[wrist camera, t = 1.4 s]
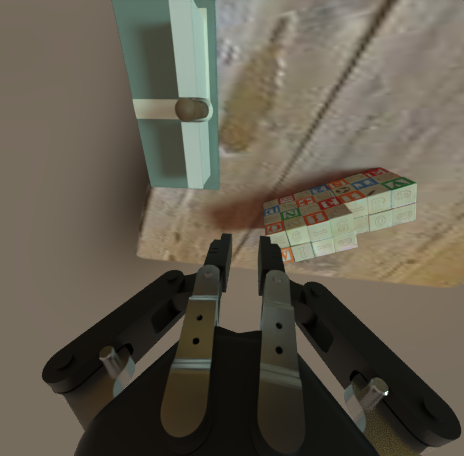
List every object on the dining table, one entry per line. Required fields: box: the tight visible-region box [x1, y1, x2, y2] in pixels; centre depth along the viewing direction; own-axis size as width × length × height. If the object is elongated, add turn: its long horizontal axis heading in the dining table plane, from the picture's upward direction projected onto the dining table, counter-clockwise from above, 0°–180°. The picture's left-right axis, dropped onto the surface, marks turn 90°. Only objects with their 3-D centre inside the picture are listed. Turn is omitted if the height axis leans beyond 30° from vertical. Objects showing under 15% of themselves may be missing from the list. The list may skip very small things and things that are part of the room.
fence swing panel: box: [181, 121, 210, 189], centre depth 32 cm, size 9×2×7 cm, turn 179°
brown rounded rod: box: [175, 98, 209, 122], centre depth 28 cm, size 3×3×10 cm
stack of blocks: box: [263, 167, 417, 263], centre depth 33 cm, size 21×6×12 cm, turn 112°
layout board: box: [112, 0, 219, 190], centre depth 32 cm, size 27×14×1 cm, turn 179°
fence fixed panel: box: [169, 0, 207, 99], centre depth 26 cm, size 9×2×7 cm, turn 179°
